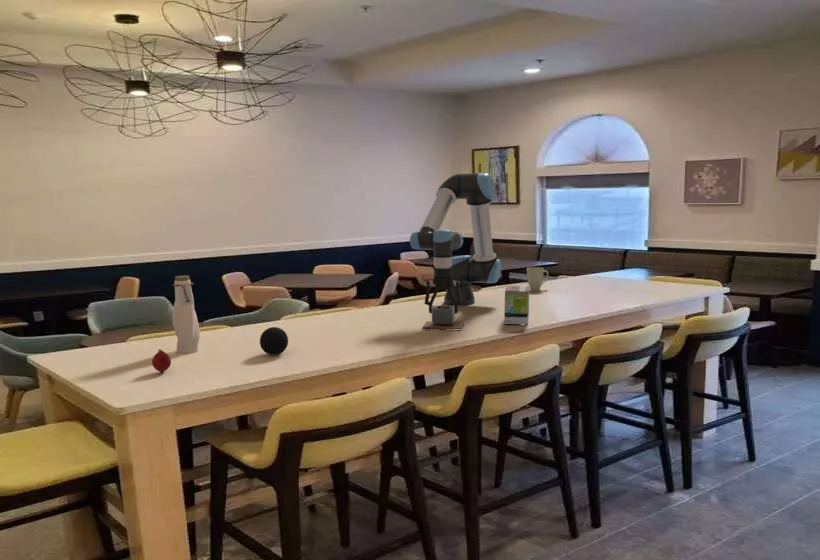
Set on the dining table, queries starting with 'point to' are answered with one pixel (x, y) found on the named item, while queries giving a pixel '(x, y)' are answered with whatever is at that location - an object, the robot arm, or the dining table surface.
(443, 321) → the grey square hollow block
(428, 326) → the keeper
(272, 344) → the speaker
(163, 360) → the onion
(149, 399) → the dining table surface
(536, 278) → the mug
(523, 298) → the tea box
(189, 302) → the water bottle
